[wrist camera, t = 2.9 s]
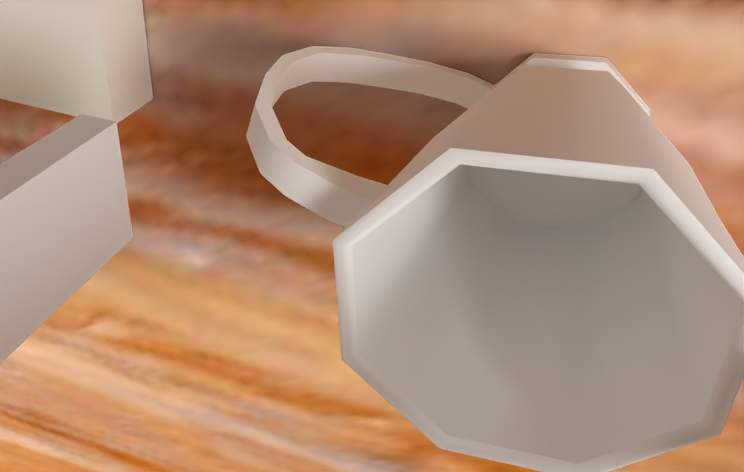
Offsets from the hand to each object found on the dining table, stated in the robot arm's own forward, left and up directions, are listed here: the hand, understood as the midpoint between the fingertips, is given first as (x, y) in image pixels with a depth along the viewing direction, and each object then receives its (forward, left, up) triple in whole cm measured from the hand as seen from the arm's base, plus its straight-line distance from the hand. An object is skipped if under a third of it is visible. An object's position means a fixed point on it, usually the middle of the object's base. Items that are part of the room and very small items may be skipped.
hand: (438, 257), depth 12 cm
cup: (0, 0, -7) cm, 7 cm away
